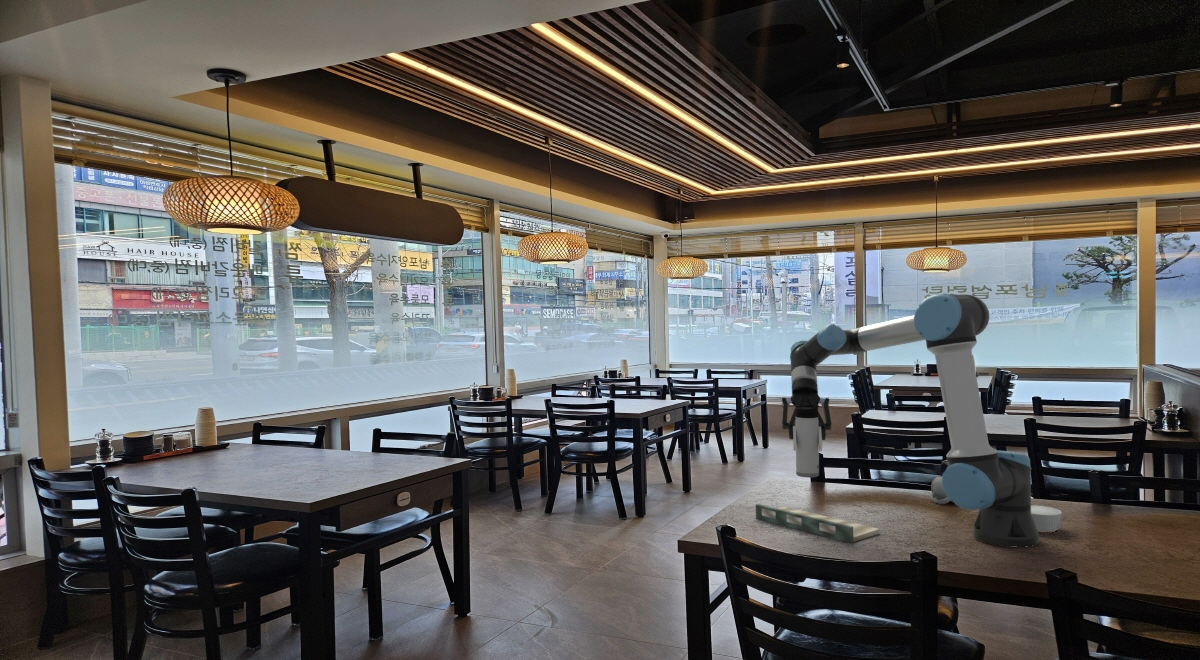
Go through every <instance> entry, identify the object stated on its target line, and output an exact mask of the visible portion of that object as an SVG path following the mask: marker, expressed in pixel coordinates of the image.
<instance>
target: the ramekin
mask: <svg viewBox="0 0 1200 660" xmlns="http://www.w3.org/2000/svg"><path fill="white" fill-rule="evenodd" d="M1031 514H1032V516H1033V519H1034V522H1035V524H1036V527H1037V530H1038V531H1046V532H1047V531H1056V530H1058V529H1059V530H1060V525H1061V521H1062V517H1063V512H1062V511H1061V510H1060V509H1057V508H1055V507H1050V506H1045V505H1036V504H1035V505H1032V504H1031ZM1059 530H1058V531H1059Z"/></svg>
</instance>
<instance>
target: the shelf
mask: <svg viewBox="0 0 1200 660" xmlns="http://www.w3.org/2000/svg"><path fill="white" fill-rule="evenodd" d="M755 518H756V519H758V520H762V521H766V522H769V523H773V524H777V525H781V526H784V527H790V528H792V529H797V530H801V531H804V532H809V533H811V534H816V535H818V536H819V535H820V536H823V537H826V538H831V539H834V540H838V541H843V542H847V543H854V542H858V541H861V540H863V539H867V538H870V537H873V536H876V535H878V534H880V533H881V532H880V530H881V529H880V528H877V527H873V526H868V525H864V524H860V523H856V522H851V521H847V520H843V519H838V518H835V517H832V516H831V517H830V516H826V515H821V514H819V513H818V514H817V513H812V512H809V511H806V510H805V511H804V510H802V509H801V510H800V509H796V508H792V507H787V506H781V507H778V508H777V507H773V506H768V505H764V504H759V503H758V504H757V503H756V504H755Z"/></svg>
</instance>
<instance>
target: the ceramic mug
mask: <svg viewBox="0 0 1200 660" xmlns="http://www.w3.org/2000/svg"><path fill="white" fill-rule="evenodd" d="M930 490H931V494H930V497H931V501H932V503H934V504H936V503H938V504H937V505H944V504H947V503H949V502H950V501H951V500H950V499H949V498H948V496H947V495H946V493H945V491H944V489H943V486H942V476H937V477H935V478H933V480H932V481H931V485H930ZM951 503H954V502H953V501H951Z"/></svg>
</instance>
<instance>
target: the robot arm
mask: <svg viewBox="0 0 1200 660" xmlns="http://www.w3.org/2000/svg"><path fill="white" fill-rule="evenodd" d="M989 322H990V311H989V308H988V307H987V304H986V303H985V302H984V301H983V300H982V299H980V298H979V297H978V296H974V295H972V294H965V293H964V294H956V293H955V294H954V293H952V294H951V293H940V294H935V295H930V296H928V297H926V298H925V299H923V300H922V301H921V302H920V303H919V305H918V306H917V308H916V309H915V311H914V314H913V315H910V316H906V317H905V316H904V317H900V318H896V319H891V320H887V321H884V322H878V323H874V324H870V325H865V326H861V327H856V328H853V329H852V328H851V329H844V330H843V329H842V328H841V327H840V326H838V325H836V324H835V323H829V324H827V325H826V326H824V327H822V328H821V329H819V331H818V332H817V333H815V334H814V335H813V336H812V337H811V338H809V340H803V339H802V340H799V341H795V342H794V343H792V345H791V347H790V355H789V358H790V359H789V360H790V372H791V373H790V377H791V378H790V380H791V381H790V382H791V396H790V397H789V398H786V397H782V398H781V405H782V408H783V410H782V420H781V421H782V423H781V424H782V425H781V426H782V428H781V429H783V430H788V439H789V440H793V441H792V443H793V451H795V452H796V408H797V407H800V406H806V405H813V404H816V405H819V404H820V405H821V407H822V408H823V415H824V420H825V421H824V420H823V418H822V416H821V414H820V411H818V438H819V452H822V451H823V441H825V440H826V437H827V434H826V431H827V430H828V431H831V430H832V420H831V419H832V418H831V414H830V407H829V406H830V398H829V397H826V398H824V399H823V398H821V397H820V396H819V390H818V389H819V388H818V386H819V385H818V372H817V366H818V365H819V364H821V363H822V362H824V361H825V360H827V358H829V357H830V356H841V355H842V356H843V355H860V354H863V353H866V352H869V351H874V350H880V349H885V348H890V347H896V346H899V345H900V346H901V345H905V344H906V345H907V344H911V343H917V342H922V341H925V344H926V349H927V351H928V352H930V353H931V354H932V355H934V358H935V364H936V370H937V374H938V375H937V376H938V381H939V385H940V390H941V398H942V402H943V407H944V408H943V409H944V412H945V419H946V425H947V429H948V436H949V441H950V446H951V447H950V450H949V451H948V452H947V454H945V455H946V463H947V467H946V469H945V471H944V472H943V474H942V476H941V477H942V486H943V489H944V491H945V493H946V495H947V496H948V498H949V499H950V500H951V501H953V502H952V503H954V504H955V505H956V506H958V507H959V508H962V509H963V510H964V509H965V510H968V511H970V510H971V511H975V510H978V512H977V515H976V519H975V520H974V522H973V523H974V524H973V526H972V536H974V537H973V538H974V539H976V540H977V539H978V540H977V541H979V540H980V542H982V541H983V543H985V542H986V543H985V544H988V543H989V545H993V544H994V546H998V545H1002V546H1001V547H1005V546H1017V547H1016V548H1018V547H1022V548H1026V547H1025V546H1032V545H1036V544H1038V543H1039V544H1040V533H1038V530H1037V527H1036V524H1035V522H1034V519H1033V516H1032V514H1031V505H1032V499H1031V498H1032V489H1031V488H1032V487H1031V485H1032V478H1031V477H1032V474H1031V473H1032V467H1031V466H1032V465H1031V458H1030V457H1029V456H1028V454H1025V453H1021V452H1017V451H1016V452H1014V451H1008V450H997V449H995V448H993V447H992V446H991V445H990V443H989V439H988V433H987V427H986V422H985V416H984V412H983V411H984V410H983V406H982V399H981V394H980V389H979V383H978V378H977V373H976V368H975V362H974V357H973V356H974V355H973V353H972V352H973V351H972V350H973V349H974V347H975V346H976V344H977V341H978V340H977V337H976V336H979V335H980V334H981V333H982V332H984V331H985V329H986V328H987V326H988V325H989ZM791 404H792V405H793V406H794V410H793V413H792V415H791V418H790V420H789V422H788V411H789V408H788V407H790V405H791ZM1039 544H1038V545H1039ZM1036 546H1037V545H1036Z"/></svg>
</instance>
